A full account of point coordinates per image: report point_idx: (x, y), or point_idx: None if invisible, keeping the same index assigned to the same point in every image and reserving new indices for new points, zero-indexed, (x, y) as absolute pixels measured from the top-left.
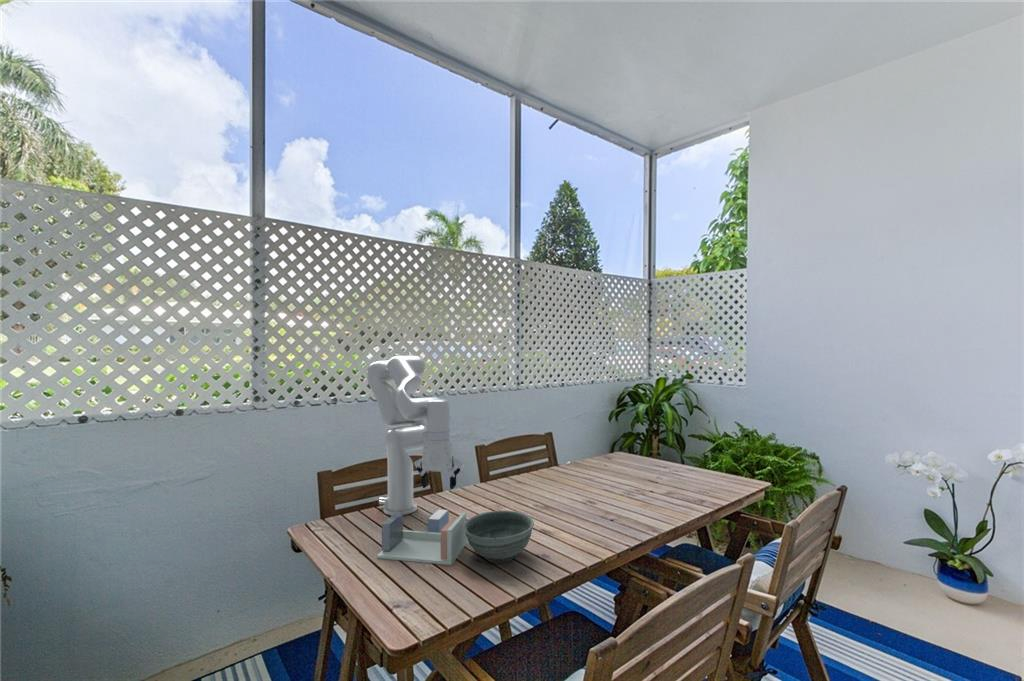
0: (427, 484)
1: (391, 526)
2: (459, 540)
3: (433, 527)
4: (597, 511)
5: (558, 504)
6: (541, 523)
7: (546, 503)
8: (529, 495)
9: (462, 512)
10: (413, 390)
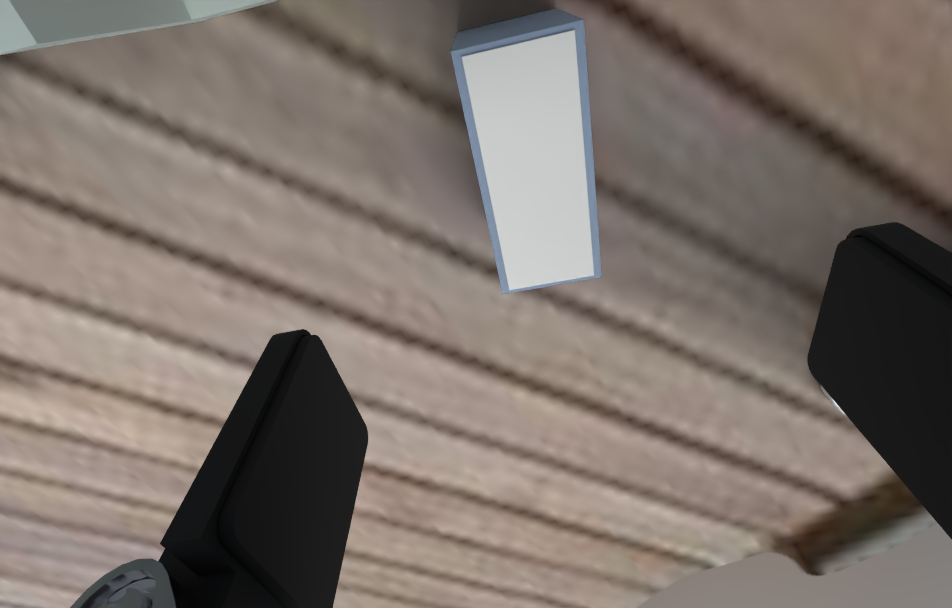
0: (826, 359)
1: None
2: None
3: (510, 29)
4: (25, 566)
5: None
6: (93, 432)
7: None
8: (360, 603)
9: (29, 34)
10: None
